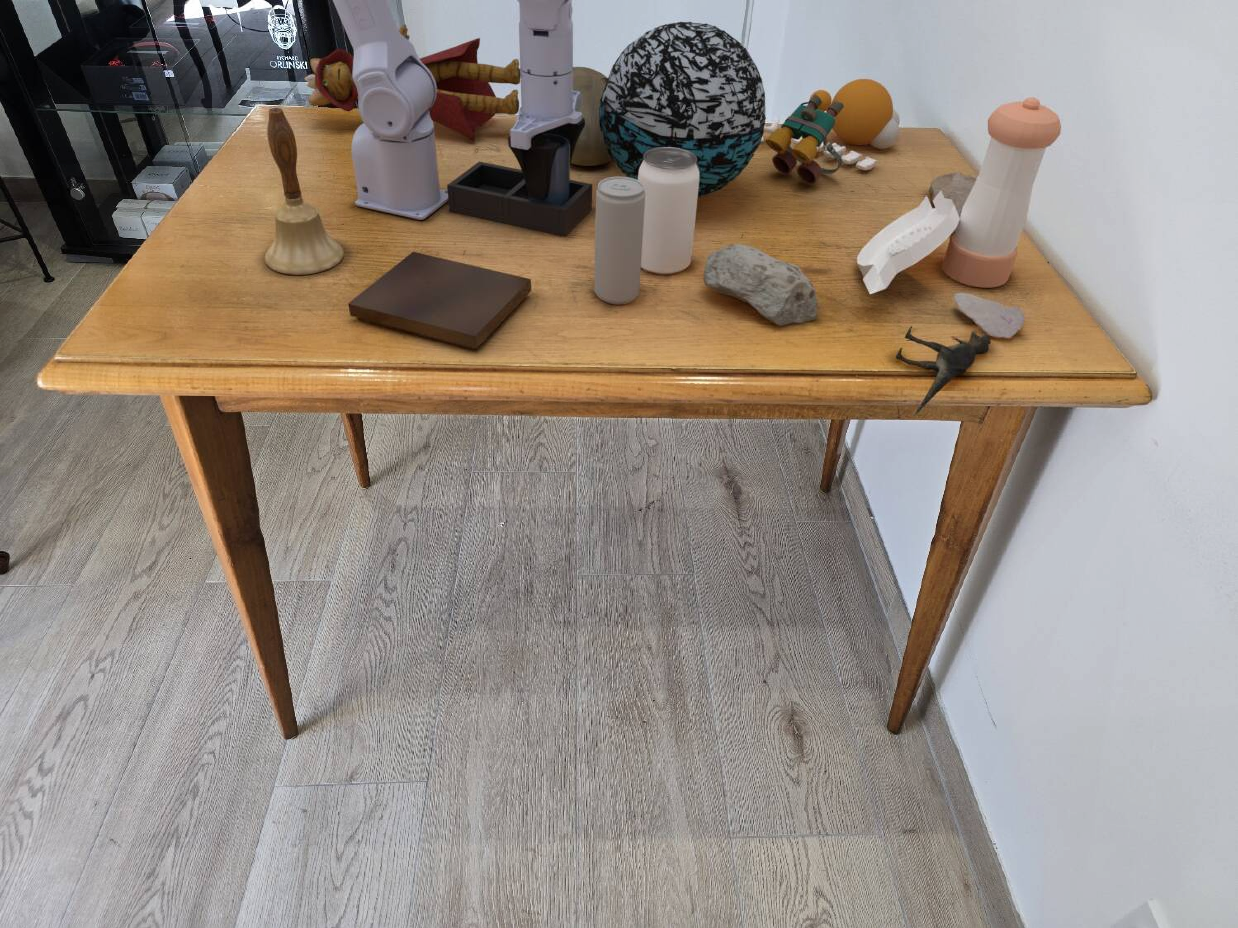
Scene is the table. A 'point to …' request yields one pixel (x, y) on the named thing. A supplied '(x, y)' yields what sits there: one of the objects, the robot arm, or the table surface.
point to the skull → (590, 118)
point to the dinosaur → (948, 360)
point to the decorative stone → (762, 283)
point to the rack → (515, 200)
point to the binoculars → (805, 140)
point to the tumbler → (558, 172)
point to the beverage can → (618, 239)
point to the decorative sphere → (685, 101)
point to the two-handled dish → (906, 241)
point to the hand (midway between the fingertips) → (548, 188)
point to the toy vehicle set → (846, 156)
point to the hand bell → (296, 213)
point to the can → (668, 209)
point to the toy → (863, 114)
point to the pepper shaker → (1001, 194)
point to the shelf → (441, 299)
